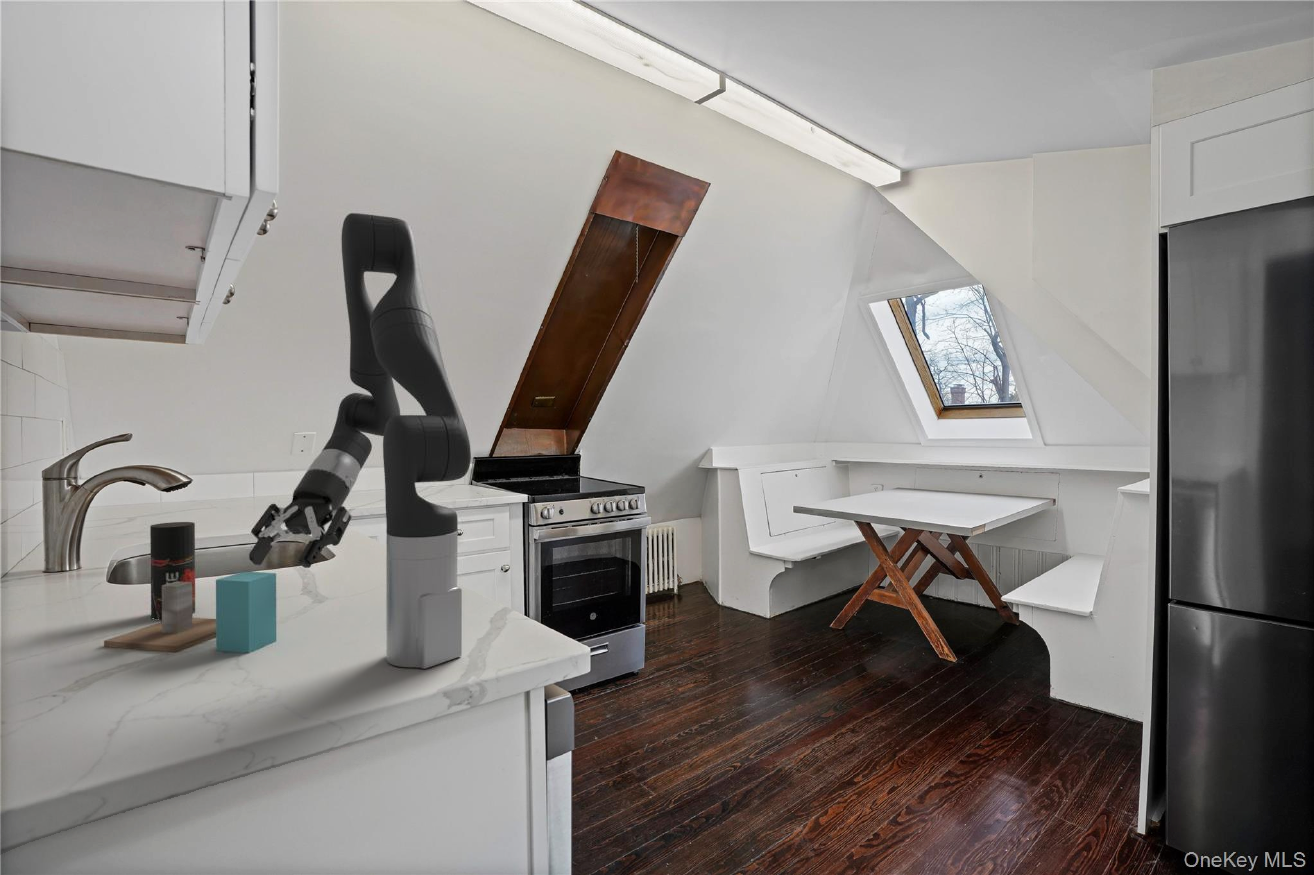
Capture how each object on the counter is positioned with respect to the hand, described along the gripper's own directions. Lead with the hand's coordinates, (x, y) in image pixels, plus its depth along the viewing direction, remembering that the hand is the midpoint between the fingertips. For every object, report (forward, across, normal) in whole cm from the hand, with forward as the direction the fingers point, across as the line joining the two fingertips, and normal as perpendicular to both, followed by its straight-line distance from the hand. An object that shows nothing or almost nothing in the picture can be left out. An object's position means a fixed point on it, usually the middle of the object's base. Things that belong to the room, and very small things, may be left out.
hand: (278, 563), depth 101 cm
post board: (+11, -13, +4) cm, 18 cm away
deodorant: (+4, -24, +11) cm, 26 cm away
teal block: (+12, 0, +3) cm, 12 cm away
